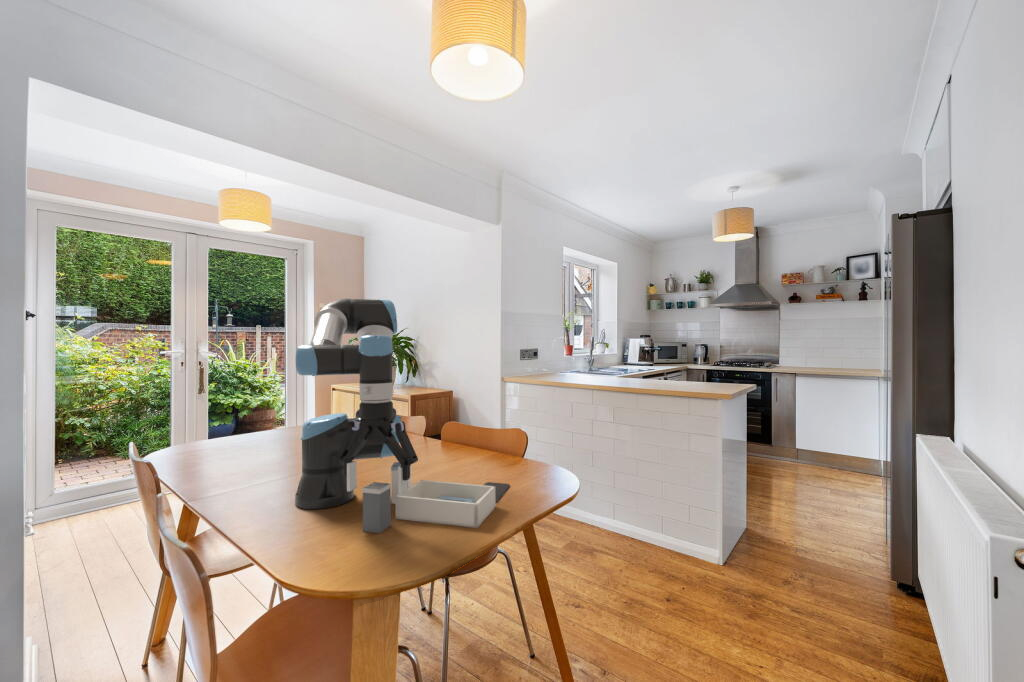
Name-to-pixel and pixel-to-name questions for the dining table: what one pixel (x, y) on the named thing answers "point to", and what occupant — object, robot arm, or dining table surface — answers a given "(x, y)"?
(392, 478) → the cream plug
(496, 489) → the smartphone
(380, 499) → the grey plug
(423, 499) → the tray box
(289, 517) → the dining table surface
